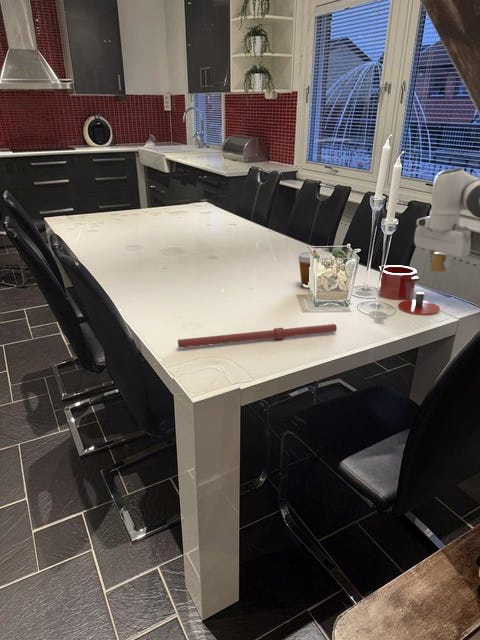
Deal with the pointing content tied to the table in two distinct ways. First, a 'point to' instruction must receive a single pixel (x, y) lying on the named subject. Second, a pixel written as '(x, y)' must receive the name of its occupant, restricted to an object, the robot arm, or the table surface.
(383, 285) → the red cooking pot
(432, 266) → the brass tin
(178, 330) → the table surface
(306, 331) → the dark red rod
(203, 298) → the table surface
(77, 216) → the table surface
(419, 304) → the lid
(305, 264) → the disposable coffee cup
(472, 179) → the robot arm
